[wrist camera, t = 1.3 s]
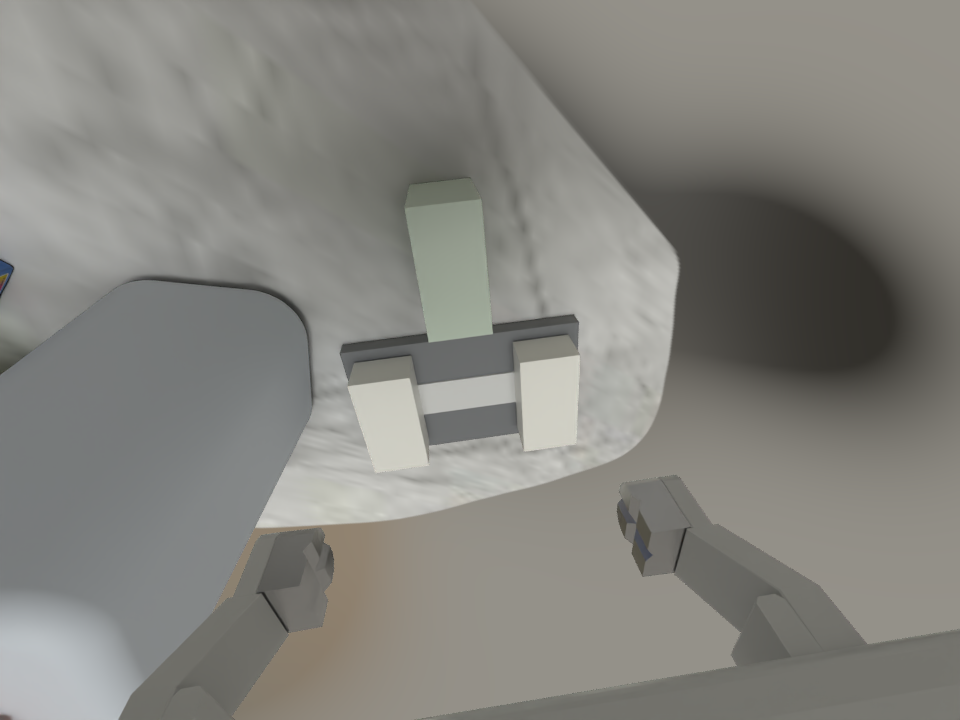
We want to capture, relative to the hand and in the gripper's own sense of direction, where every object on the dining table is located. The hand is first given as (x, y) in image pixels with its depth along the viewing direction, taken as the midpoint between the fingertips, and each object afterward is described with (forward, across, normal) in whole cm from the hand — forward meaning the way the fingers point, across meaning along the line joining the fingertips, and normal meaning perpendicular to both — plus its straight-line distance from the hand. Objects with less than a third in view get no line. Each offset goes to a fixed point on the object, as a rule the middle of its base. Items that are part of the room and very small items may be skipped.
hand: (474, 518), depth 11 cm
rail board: (+26, 0, +13) cm, 29 cm away
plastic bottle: (+26, +21, +8) cm, 34 cm away
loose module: (+26, 0, -1) cm, 26 cm away
